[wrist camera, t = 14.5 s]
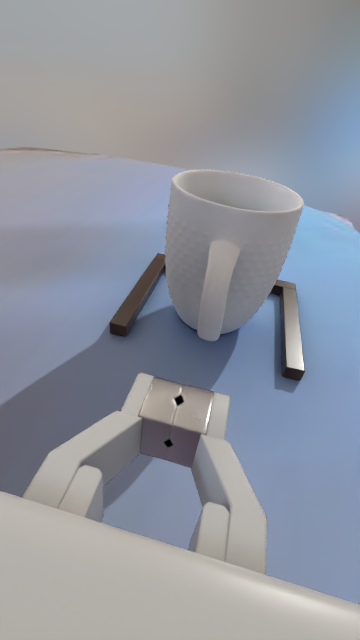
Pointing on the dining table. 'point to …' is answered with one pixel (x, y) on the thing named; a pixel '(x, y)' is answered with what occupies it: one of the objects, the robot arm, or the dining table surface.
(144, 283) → the bay rails
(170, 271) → the mug
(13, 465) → the dining table surface
